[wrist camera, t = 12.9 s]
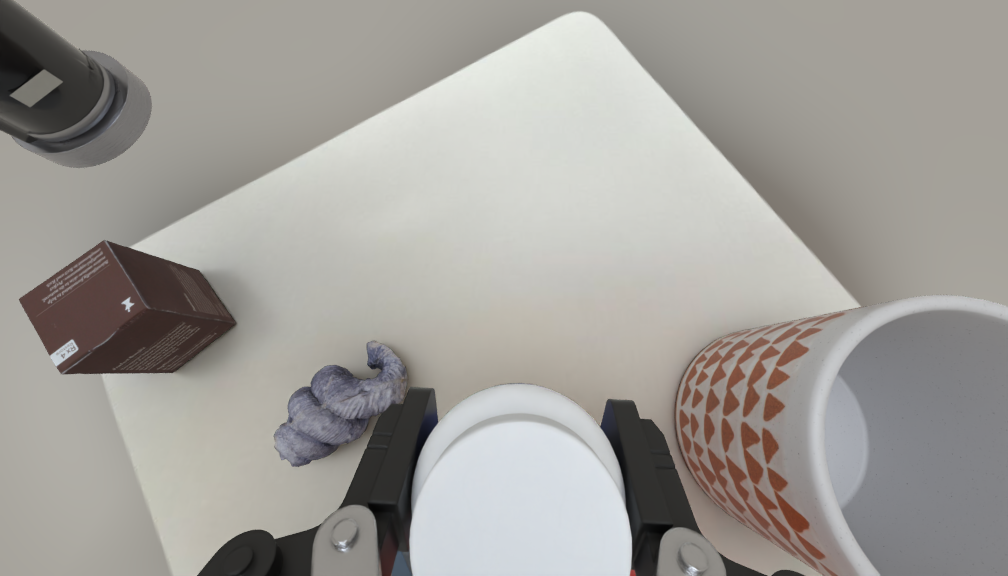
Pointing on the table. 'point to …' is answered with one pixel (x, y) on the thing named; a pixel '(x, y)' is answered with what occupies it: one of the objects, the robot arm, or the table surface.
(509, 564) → the pill bottle
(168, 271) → the box
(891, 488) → the planter
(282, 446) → the seashell
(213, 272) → the table surface
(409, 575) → the button housing
